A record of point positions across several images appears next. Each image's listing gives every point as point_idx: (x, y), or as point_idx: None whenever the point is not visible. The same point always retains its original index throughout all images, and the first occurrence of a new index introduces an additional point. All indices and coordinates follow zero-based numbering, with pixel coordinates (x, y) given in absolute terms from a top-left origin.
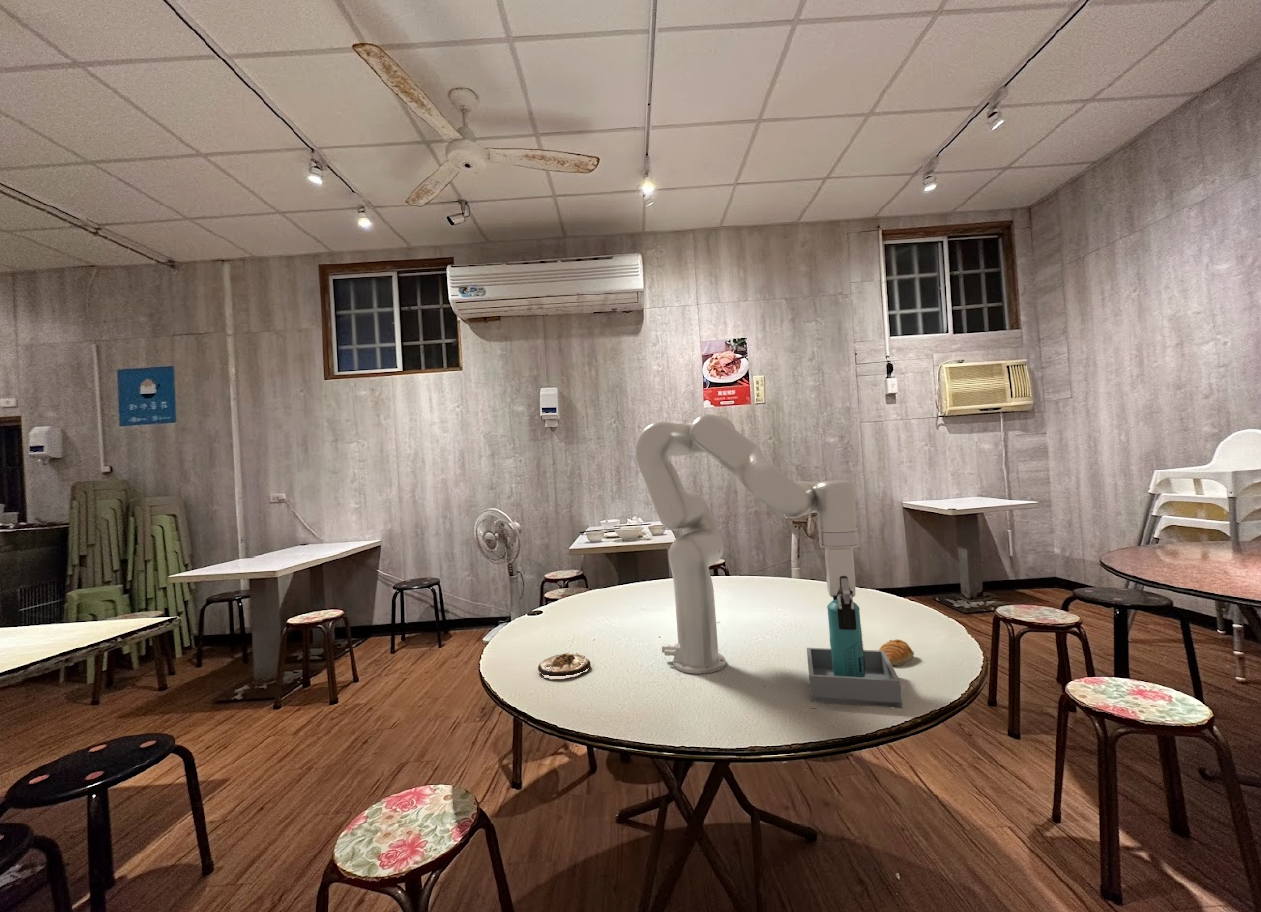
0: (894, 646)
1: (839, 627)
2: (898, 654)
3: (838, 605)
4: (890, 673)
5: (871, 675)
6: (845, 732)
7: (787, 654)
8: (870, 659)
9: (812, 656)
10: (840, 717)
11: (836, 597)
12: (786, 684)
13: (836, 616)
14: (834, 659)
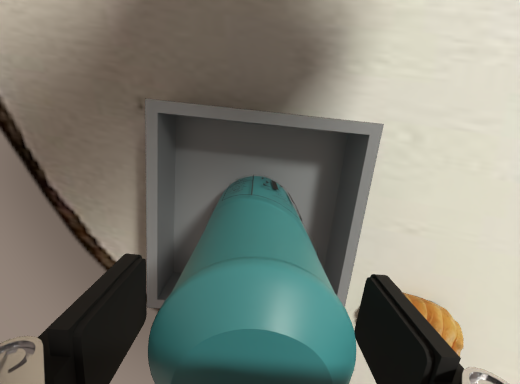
0: None
1: (125, 257)
2: None
3: (32, 363)
4: None
5: None
6: (47, 152)
7: (473, 81)
8: (332, 277)
9: (359, 138)
10: (108, 155)
11: (429, 372)
12: (264, 54)
13: (179, 279)
14: (235, 188)
